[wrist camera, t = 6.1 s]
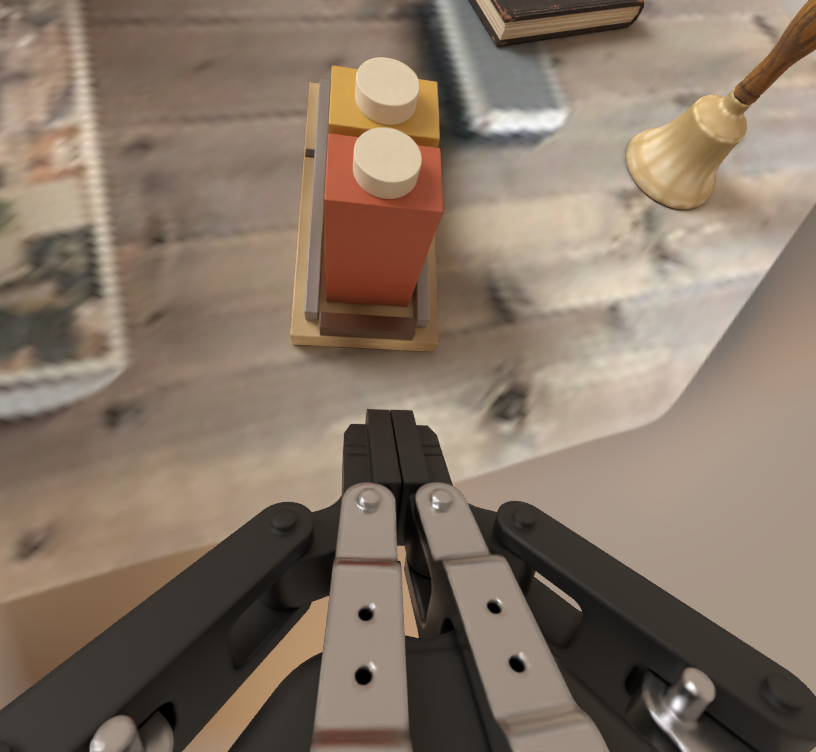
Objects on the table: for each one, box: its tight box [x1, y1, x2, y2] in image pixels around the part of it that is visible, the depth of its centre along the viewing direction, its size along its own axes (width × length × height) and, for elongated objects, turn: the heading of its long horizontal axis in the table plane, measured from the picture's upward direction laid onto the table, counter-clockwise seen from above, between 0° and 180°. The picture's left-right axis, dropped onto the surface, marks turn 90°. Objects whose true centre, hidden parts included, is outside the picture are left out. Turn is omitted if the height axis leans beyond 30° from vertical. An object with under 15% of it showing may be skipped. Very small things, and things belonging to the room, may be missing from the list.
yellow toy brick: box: [329, 58, 440, 148], centre depth 23 cm, size 5×4×10 cm
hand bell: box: [626, 0, 816, 210], centre depth 29 cm, size 8×8×16 cm
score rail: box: [290, 79, 439, 352], centre depth 29 cm, size 9×20×3 cm, turn 1°
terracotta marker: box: [324, 127, 443, 307], centre depth 22 cm, size 5×4×10 cm
